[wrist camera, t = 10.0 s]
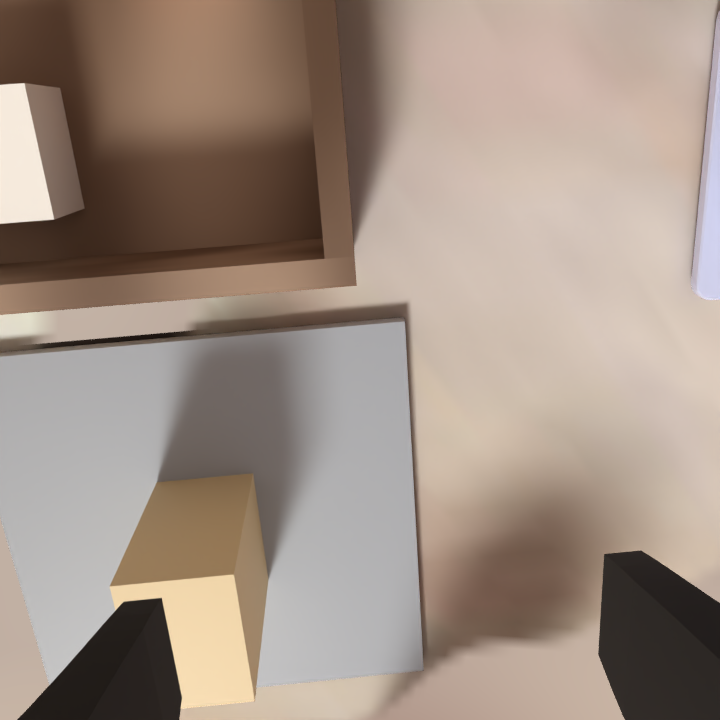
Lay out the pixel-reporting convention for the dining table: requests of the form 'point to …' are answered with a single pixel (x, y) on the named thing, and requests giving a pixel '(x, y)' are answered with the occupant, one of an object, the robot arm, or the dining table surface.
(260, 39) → the box
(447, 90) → the dining table surface
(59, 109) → the cream block
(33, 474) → the lid
